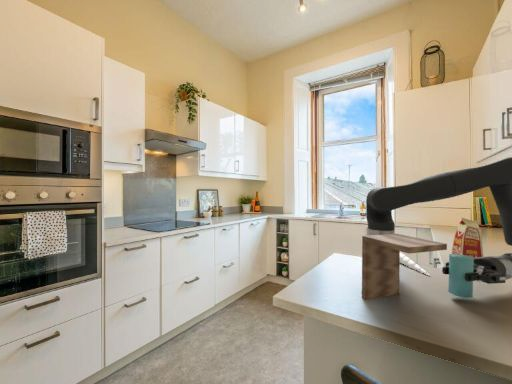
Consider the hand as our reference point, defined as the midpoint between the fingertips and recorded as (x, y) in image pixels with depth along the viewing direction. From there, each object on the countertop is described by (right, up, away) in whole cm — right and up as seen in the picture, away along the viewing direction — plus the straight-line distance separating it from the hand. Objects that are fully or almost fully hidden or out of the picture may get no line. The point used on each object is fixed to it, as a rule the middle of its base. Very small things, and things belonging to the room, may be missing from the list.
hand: (455, 273), depth 73 cm
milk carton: (+37, -8, +40) cm, 55 cm away
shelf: (-18, -8, -3) cm, 20 cm away
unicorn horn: (+7, -8, +33) cm, 35 cm away
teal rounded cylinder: (+2, -6, +1) cm, 7 cm away
